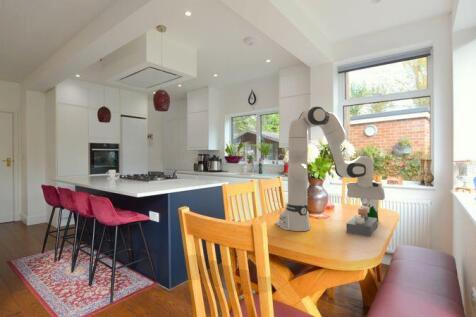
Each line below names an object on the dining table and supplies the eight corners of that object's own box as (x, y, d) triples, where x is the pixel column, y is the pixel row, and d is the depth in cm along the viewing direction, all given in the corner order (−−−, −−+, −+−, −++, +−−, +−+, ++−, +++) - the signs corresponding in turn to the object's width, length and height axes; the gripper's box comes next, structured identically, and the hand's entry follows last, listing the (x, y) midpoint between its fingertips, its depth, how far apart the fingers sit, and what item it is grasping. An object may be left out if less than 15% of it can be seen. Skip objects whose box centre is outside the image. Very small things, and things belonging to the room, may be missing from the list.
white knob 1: (363, 232, 136) (363, 219, 136) (354, 230, 139) (354, 218, 139) (365, 230, 140) (365, 217, 140) (356, 228, 143) (356, 216, 143)
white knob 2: (368, 219, 149) (368, 208, 149) (360, 218, 152) (360, 207, 152) (370, 218, 153) (370, 206, 153) (361, 217, 156) (361, 206, 155)
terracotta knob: (366, 222, 143) (366, 210, 143) (357, 221, 145) (357, 209, 145) (367, 220, 146) (367, 209, 146) (359, 219, 149) (359, 208, 149)
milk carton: (380, 221, 164) (380, 190, 164) (369, 222, 161) (369, 191, 161) (369, 218, 172) (369, 189, 172) (359, 219, 169) (359, 189, 169)
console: (370, 236, 133) (370, 226, 133) (346, 232, 140) (346, 223, 140) (377, 226, 152) (377, 218, 152) (355, 223, 159) (355, 215, 159)
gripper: (345, 182, 156) (345, 204, 156) (383, 184, 144) (383, 208, 144) (348, 181, 161) (348, 203, 161) (385, 183, 149) (385, 207, 149)
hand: (365, 206), depth 152 cm, fingers closed
